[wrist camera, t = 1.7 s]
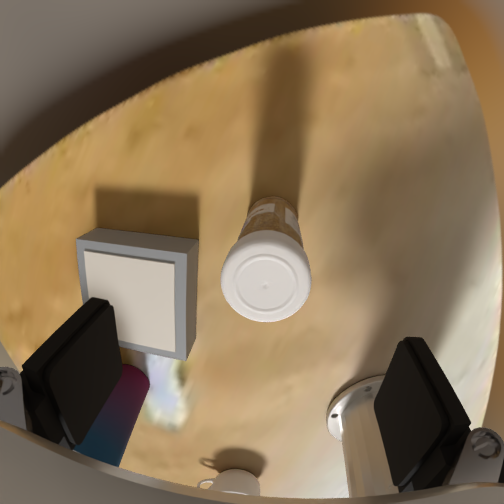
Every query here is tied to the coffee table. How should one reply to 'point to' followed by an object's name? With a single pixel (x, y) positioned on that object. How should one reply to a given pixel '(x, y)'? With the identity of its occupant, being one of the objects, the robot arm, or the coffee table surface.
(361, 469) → the robot arm
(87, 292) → the base
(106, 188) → the coffee table surface
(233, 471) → the teacup
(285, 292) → the sprinkles bottle
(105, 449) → the cup
